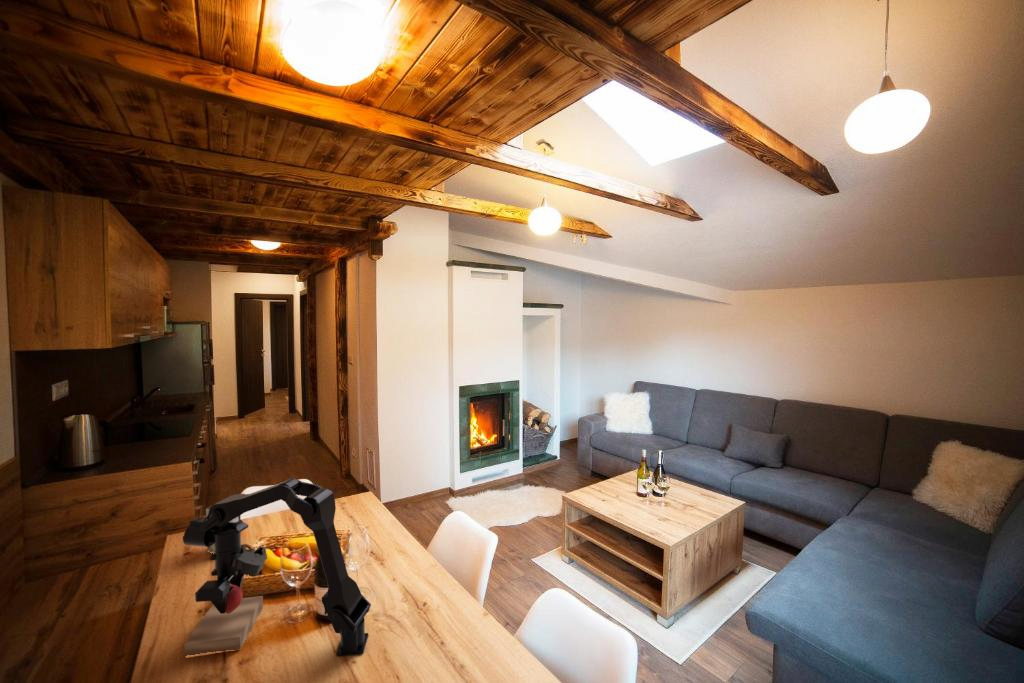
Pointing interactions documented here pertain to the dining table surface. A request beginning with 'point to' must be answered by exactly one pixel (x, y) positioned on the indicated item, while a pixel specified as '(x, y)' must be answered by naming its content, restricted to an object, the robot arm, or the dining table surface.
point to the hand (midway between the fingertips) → (229, 605)
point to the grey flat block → (224, 628)
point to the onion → (234, 599)
